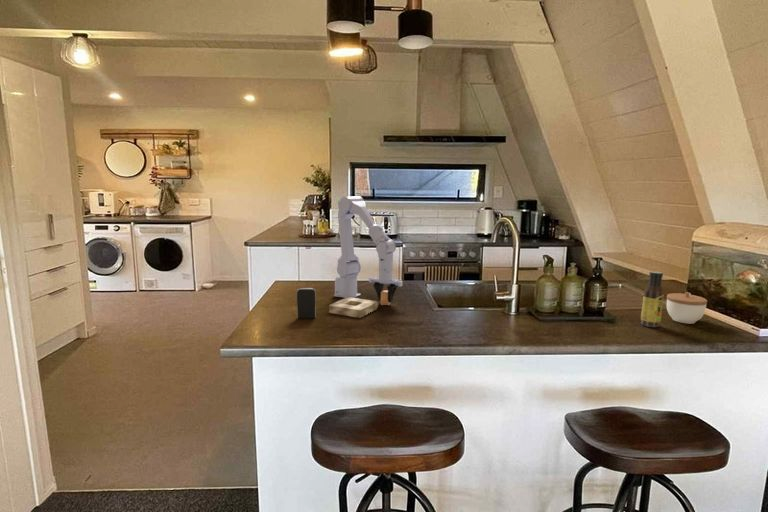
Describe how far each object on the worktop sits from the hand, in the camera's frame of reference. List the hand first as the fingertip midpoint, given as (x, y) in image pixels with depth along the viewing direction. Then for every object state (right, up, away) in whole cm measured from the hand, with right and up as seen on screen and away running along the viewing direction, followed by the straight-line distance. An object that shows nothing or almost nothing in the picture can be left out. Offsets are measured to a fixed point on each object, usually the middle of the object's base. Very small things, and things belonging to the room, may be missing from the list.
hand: (385, 301), depth 185 cm
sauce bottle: (+97, -7, -23) cm, 99 cm away
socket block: (-12, -3, -9) cm, 16 cm away
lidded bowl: (+113, -6, -16) cm, 114 cm away
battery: (-29, -5, -18) cm, 35 cm away
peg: (0, -1, 0) cm, 1 cm away
